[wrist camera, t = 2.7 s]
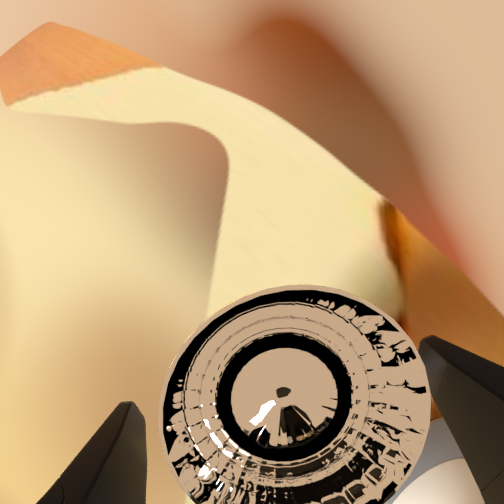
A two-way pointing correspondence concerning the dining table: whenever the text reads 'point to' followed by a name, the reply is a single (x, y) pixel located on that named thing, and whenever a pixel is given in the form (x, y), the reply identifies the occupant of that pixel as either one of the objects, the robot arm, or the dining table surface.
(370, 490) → the wineglass
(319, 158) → the dining table surface
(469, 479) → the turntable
